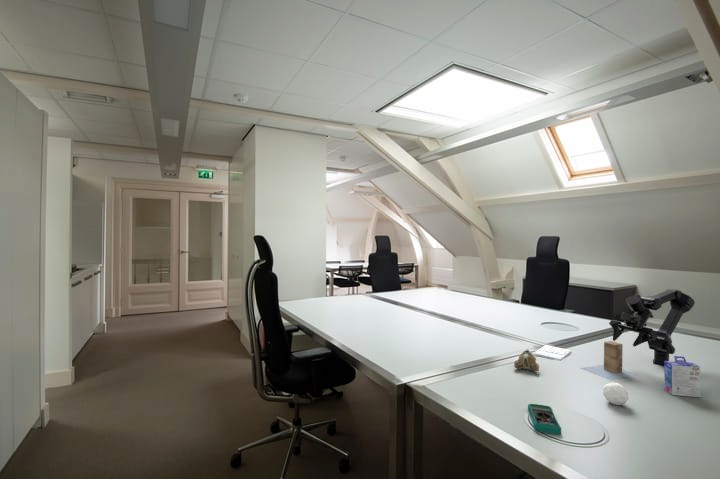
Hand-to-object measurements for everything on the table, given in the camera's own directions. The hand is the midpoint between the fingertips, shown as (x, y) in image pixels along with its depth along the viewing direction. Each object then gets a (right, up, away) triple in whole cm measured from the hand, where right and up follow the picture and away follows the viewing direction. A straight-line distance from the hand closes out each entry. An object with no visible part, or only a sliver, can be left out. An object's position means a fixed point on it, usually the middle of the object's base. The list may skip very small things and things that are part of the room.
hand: (623, 343), depth 165 cm
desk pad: (-9, -13, -3) cm, 16 cm away
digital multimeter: (-63, -13, -47) cm, 80 cm away
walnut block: (-6, -12, -2) cm, 14 cm away
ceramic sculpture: (-45, -13, +1) cm, 47 cm away
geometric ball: (-29, -13, -34) cm, 46 cm away
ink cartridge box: (+4, -13, -25) cm, 29 cm away
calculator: (-21, -13, +23) cm, 34 cm away
